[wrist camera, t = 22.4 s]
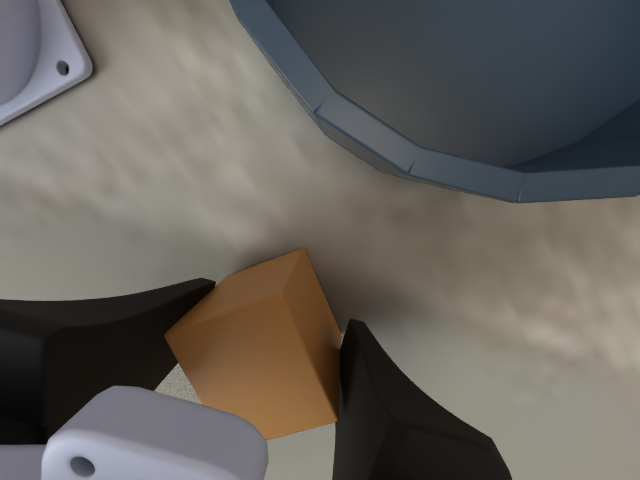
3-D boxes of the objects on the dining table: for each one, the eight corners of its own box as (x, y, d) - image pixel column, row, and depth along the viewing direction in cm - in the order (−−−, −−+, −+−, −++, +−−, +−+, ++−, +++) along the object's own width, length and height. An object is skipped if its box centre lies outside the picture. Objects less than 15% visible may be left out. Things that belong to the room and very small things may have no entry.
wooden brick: (266, 357, 15) (227, 452, 10) (225, 276, 14) (161, 334, 9) (341, 334, 14) (339, 422, 9) (304, 246, 13) (280, 293, 8)
